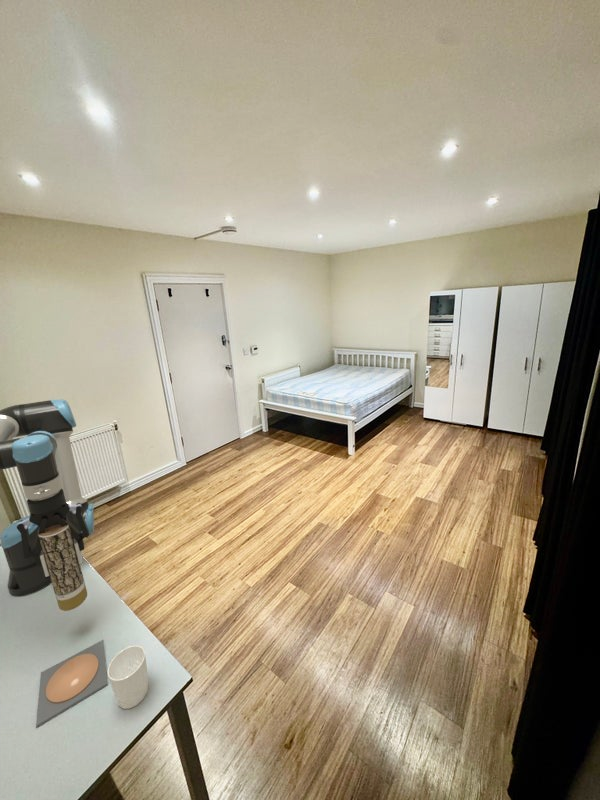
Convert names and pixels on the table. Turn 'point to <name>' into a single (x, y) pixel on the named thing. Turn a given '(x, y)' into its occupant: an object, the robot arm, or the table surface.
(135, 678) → the white cup
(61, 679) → the coaster
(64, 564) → the brown bark cylinder
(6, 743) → the table surface
